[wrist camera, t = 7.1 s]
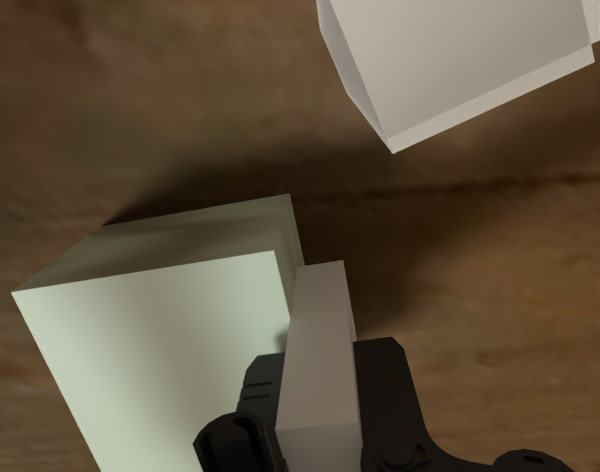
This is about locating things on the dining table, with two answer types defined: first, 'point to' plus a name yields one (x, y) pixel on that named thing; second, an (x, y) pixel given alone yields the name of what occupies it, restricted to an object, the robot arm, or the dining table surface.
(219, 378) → the pale green block
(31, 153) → the dining table surface
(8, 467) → the dining table surface
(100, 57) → the dining table surface
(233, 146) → the dining table surface
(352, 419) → the robot arm
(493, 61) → the gate
